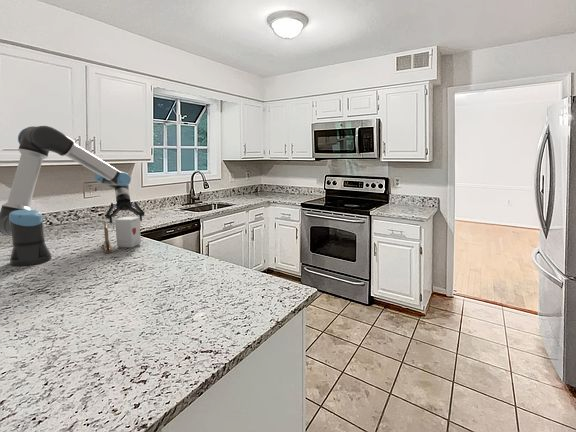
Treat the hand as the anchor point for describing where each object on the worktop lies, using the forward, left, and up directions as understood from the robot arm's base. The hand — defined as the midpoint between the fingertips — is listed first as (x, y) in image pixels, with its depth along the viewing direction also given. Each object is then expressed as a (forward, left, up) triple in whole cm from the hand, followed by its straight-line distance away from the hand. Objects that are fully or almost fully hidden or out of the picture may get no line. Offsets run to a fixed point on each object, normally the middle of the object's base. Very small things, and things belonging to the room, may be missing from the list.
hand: (127, 226), depth 190 cm
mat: (0, -9, -9) cm, 13 cm away
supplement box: (0, -10, -9) cm, 13 cm away
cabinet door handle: (-11, -9, -9) cm, 17 cm away
